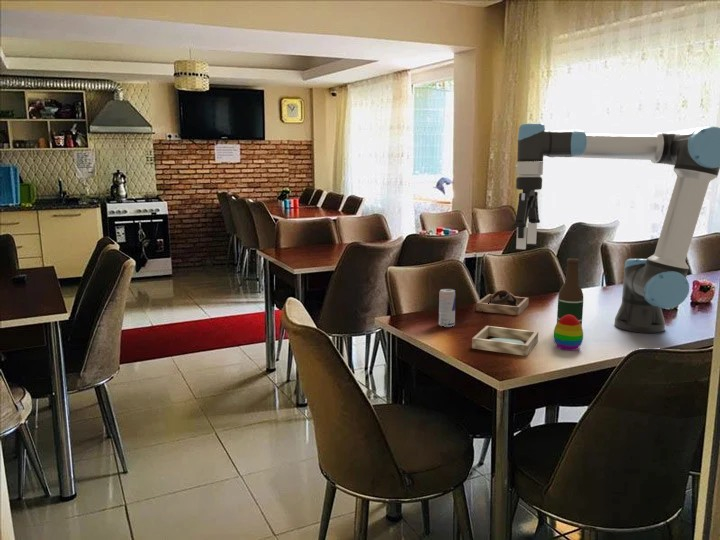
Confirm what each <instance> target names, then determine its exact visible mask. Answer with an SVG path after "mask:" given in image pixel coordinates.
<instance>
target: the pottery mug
mask: <svg viewBox="0 0 720 540" xmlns="http://www.w3.org/2000/svg"><path fill="white" fill-rule="evenodd" d="M498 295H499V298H500V299H499V300H494V298H495V297H496V296H498ZM515 297H516V296H515V295H514V294H513V293H512V292H510V291H509V290H507V289H500V290H497V291H495V292H494V293H493V295H492V296H491V298H492V299H491V302H490V304H498V305H508V306H518V305H517V302H516V298H515ZM507 303H509V304H507Z"/></svg>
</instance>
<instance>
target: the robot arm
mask: <svg viewBox="0 0 720 540" xmlns="http://www.w3.org/2000/svg"><path fill="white" fill-rule="evenodd" d="M545 127H546V125H545V124H544V123H538V122H537V123H535V122H533V123H532V122H531V123H522V124H521V125H519V127H518V134H517V141H516V142H517V155H516V159H517V160H516V162H517V163H516V165H515V166H514V168H515V169H516V176H517V177H516V179H515V182H516V183H515V188H516V190H520V191H522V192H520V193H519V194H518V203H517V209H516V215H515V222H514V224H513V227H514V228H516V242H515V243H516V244H515V245H516V246H515V249H516V250H527V245H537V236H538V235H537V231H538V229H537V228H538V224H540V223H541V220H540V217H539V216H540V215H539V204H538V203H539V201H538V200H539V199H538V198H539V197H538V194H539V192H538V190H542V188H543V178H542V177H541V176H542V175H543V173H544V157H548V158H582V159H583V158H587V159H610V160H612V159H613V160H614V159H617V160H620V159H621V160H640V161H641V160H643V161H650V162H651V163H653V164H662V165H663V164H664V165H671V166H673V172H674V173H675V175H676V180H675V183H674V187H673V190H672V193H671V197H670V199H669V204H668V206H667V209H666V214H665V217H664V220H663V225H662V227H661V230H660V234H659V237H658V240H657V243H656V247H655V251H654V253H653V254H652V255H650V256H649V257H647V258H628V259H626V260H625V262H624V267H623V281H622V282H623V283H622V296H621V304H620V306H619V309H618V311H617V313H616V315H615V317H614V326H615V327H616V328H618V329H620V330H625V331H628V332H632V333H633V332H635V333H643V334H657V333H662V332H664V331H665V328H666V321H665V318H664V314H663V310H662V309H673V308H675V307H678V306H680V305H681V304H682V303H683V302H684V301H685V300H686V299H687V298H688V296H689V293H690V283H689V281H688V279H687V276H688V273H689V269H690V267H689V266H688V264H687V262H686V259H687V256H688V253H689V249H690V247H691V243H692V240H693V237H694V234H695V230H696V227H697V224H698V221H699V217H700V214H701V210H702V207H703V204H704V200H705V198H706V194H707V191H708V187H709V184H710V183H711V182H712V181H713V180H715V179H717V178H718V176H719V173H720V127H718V126H713V125H712V126H710V125H704V126H700V127H694V128H685V129H682V130H681V129H680V130H675V131H667V132H665V131H664V132H662V131H661V132H660V131H657V132H655V134H653V135H651V134H621V133H620V134H613V133H611V134H610V133H586V132H585V130H581V129H567V130H566V129H560V130H550V129H549V130H547V129H546V128H545ZM527 222H528V223H527Z"/></svg>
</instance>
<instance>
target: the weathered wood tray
mask: <svg viewBox="0 0 720 540" xmlns="http://www.w3.org/2000/svg"><path fill="white" fill-rule="evenodd" d="M493 294H494V293H493ZM493 294H491V293H488V294H487V295H484V297H483V298H481V299H480V300H479V301H477V302H476V305H475V306H476V308H475V309H476V310H475V311H476V312H482V311H483V313H493V314H501V315H502V314H503V315H511V316H520V315H521V314H522V313H523V312H524V311H525V309H527V307H528V306H529V303H530V302H529V301H530V299H529V297H525V296H522V297H521V296H515V298H516V302H517V305H518V306H509V303H507V304H508V305H498V304H491V299H492V298H491V296H492V295H493ZM499 299H500V298H499V295H498V296H496V297H495V298H494V300H499ZM488 303H489V304H488Z"/></svg>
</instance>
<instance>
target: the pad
mask: <svg viewBox="0 0 720 540" xmlns="http://www.w3.org/2000/svg"><path fill="white" fill-rule="evenodd" d="M488 340H495V341H503V342H511V343H518V344H525V342H524V341H523V340H517V339H512V338H501V337H493V338H489V339H488Z"/></svg>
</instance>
